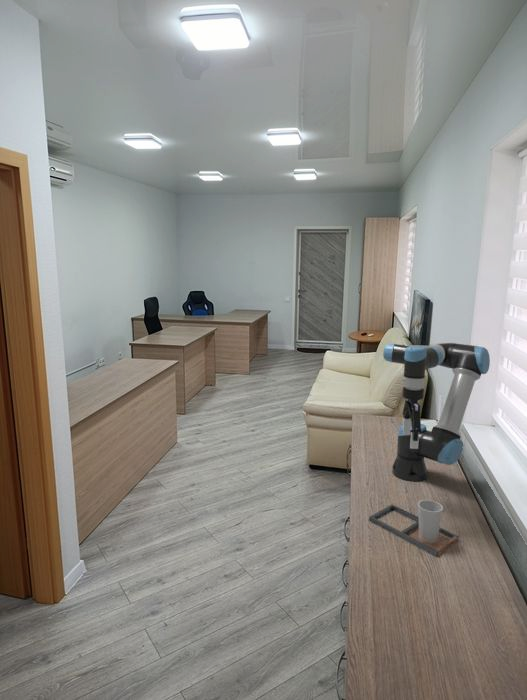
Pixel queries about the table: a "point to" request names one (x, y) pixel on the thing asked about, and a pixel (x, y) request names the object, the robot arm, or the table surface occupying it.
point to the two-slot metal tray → (414, 537)
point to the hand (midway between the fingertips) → (410, 441)
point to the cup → (429, 520)
